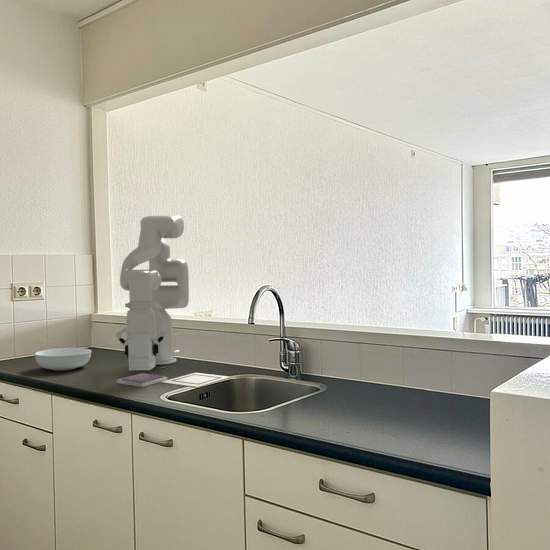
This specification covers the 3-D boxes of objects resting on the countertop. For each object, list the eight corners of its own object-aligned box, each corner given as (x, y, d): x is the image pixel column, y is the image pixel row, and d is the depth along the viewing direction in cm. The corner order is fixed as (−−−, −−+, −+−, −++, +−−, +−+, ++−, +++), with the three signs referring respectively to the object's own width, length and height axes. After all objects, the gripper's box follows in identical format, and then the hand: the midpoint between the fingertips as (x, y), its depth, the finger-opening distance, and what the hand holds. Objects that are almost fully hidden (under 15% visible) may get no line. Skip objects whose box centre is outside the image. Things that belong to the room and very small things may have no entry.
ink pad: (142, 376, 206) (142, 372, 206) (167, 380, 199) (167, 375, 199) (117, 383, 196) (116, 378, 196) (142, 386, 189) (142, 382, 189)
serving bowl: (73, 374, 212) (73, 356, 212) (23, 373, 217) (23, 355, 216) (101, 364, 233) (101, 347, 233) (55, 363, 237) (54, 347, 237)
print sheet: (195, 373, 211) (195, 372, 211) (230, 377, 202) (230, 376, 202) (161, 382, 195) (161, 381, 195) (197, 387, 187) (197, 386, 187)
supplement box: (155, 366, 201) (155, 330, 200) (149, 370, 193) (148, 333, 193) (135, 366, 201) (134, 330, 201) (128, 370, 194) (127, 333, 194)
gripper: (114, 307, 191) (115, 359, 192) (166, 306, 195) (167, 356, 195) (115, 306, 199) (116, 355, 199) (166, 304, 202) (167, 353, 203)
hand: (141, 356), depth 197 cm, fingers closed on supplement box, 8 cm apart
